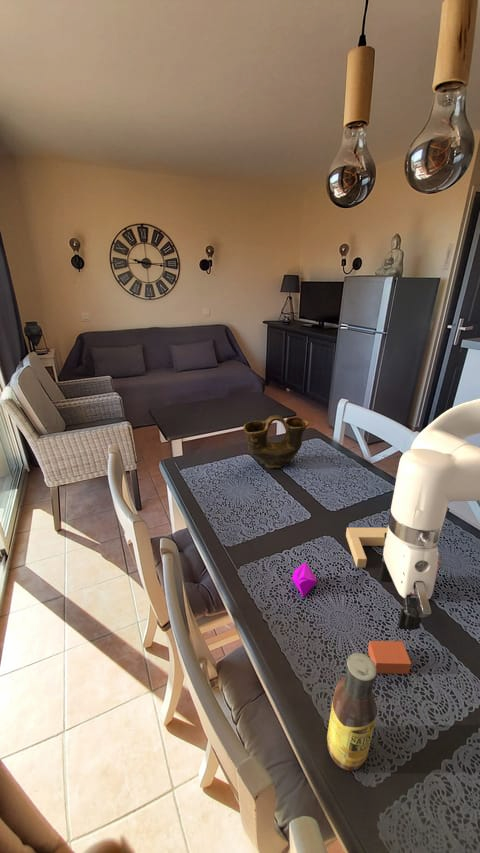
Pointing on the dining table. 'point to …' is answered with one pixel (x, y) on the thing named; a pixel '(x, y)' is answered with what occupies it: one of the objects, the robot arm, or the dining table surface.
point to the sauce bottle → (353, 713)
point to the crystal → (304, 579)
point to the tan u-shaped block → (364, 542)
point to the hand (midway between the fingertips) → (397, 602)
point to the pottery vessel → (275, 450)
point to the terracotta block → (389, 657)
